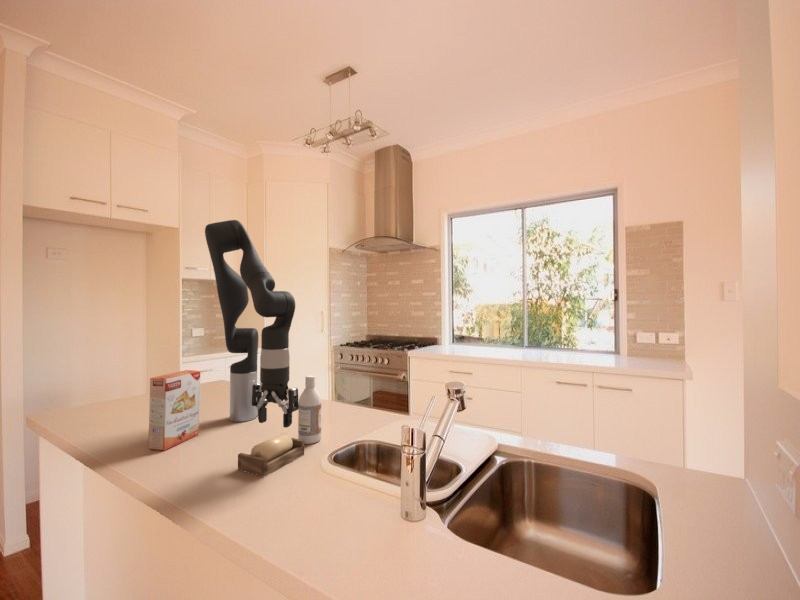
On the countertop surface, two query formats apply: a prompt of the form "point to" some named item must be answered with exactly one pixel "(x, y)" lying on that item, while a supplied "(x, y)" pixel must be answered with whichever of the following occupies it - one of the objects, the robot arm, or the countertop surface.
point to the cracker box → (173, 409)
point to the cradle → (264, 468)
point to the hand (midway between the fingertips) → (274, 424)
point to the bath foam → (309, 413)
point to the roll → (273, 447)
